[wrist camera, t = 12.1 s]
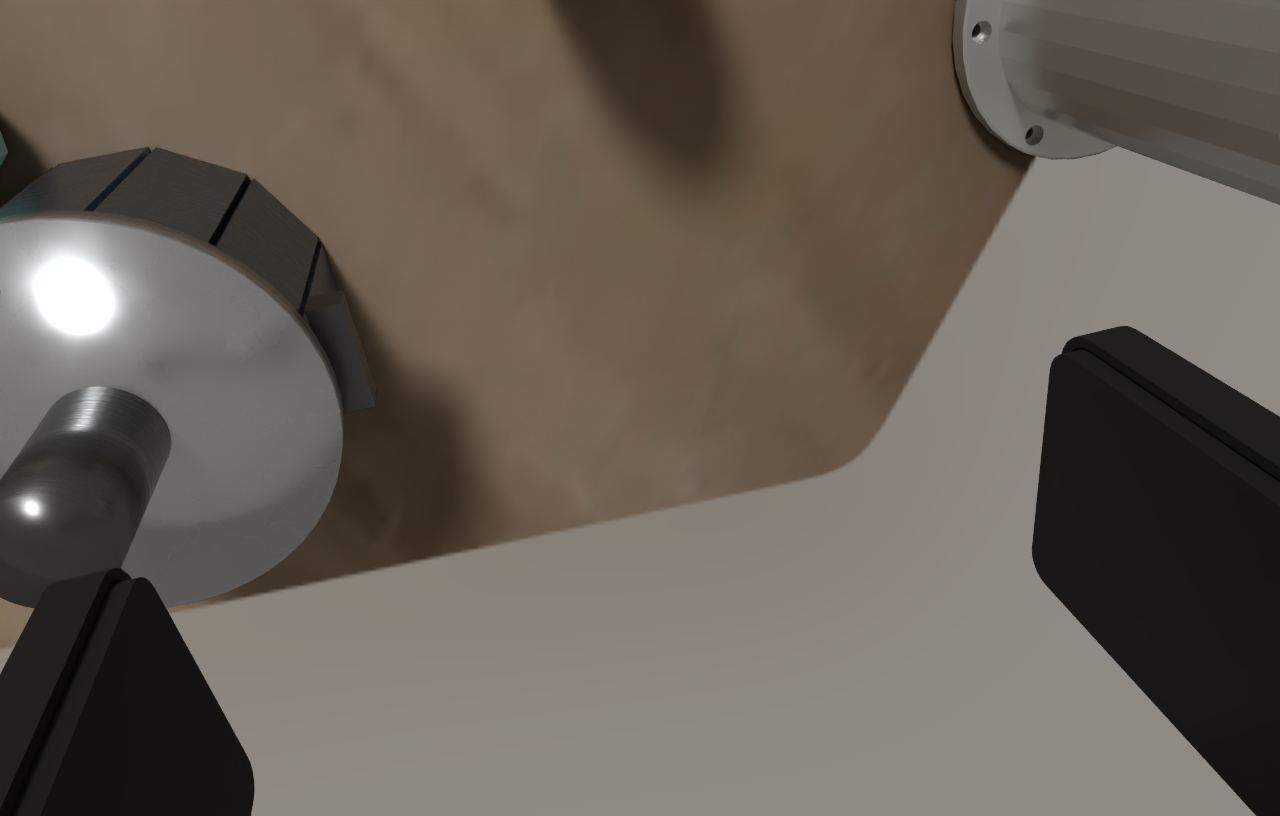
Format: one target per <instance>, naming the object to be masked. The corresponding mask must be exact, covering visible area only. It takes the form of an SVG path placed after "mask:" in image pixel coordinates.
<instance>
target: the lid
mask: <svg viewBox="0 0 1280 816" xmlns="http://www.w3.org/2000/svg"><path fill="white" fill-rule="evenodd" d="M343 438H344V416H343V407H342V399H341V394H340V391H339V387H338V384H337V380H336V376H335V373H334V371H333V368H332V366H331V364H330V362H329V359H328V357H327V355H326V353H325V350H324V349H323V347H322V345H321V344H320V342H319V340H318V339H317V337H316V336H315V334H314V332H313V331H312V329H311V328H310V326H309V325H308V323H307V322H306V321H305V320H304V319H303V317H302V316H301V315H300V314H299V312H298V311H297V310H296V309H295V308H294V306H293V305H292V304H291V303H290V302H289V301H288V300H287V299H286V298H285V297H284V296H283V295H282V294H281V293H280V292H279V291H278V290H277V289H276V288H274V287H273V286H272V285H271V284H270V283H269V282H268V281H267V280H265V279H264V278H263V277H261V276H260V275H259V274H257V273H256V272H255V271H253V270H252V269H251V268H249V267H248V266H247V265H245V264H244V263H242V262H241V261H239V260H237V259H236V258H234V257H232V256H231V255H229V254H227V253H226V252H224V251H222V250H221V249H219V248H217V247H216V246H213V245H211V244H209V243H207V242H205V241H202V240H200V239H198V238H196V237H194V236H191V235H189V234H187V233H185V232H182V231H179V230H176V229H173V228H170V227H167V226H164V225H161V224H158V223H155V222H152V221H147V220H143V219H138V218H133V217H129V216H124V215H119V214H113V213H103V212H93V211H83V210H59V211H39V212H31V213H24V214H16V215H10V216H6V217H2V218H0V598H2V599H5V600H7V601H9V602H12V603H15V604H18V605H22V606H25V607H31V608H35V607H36V605H37V603H38V601H39V599H40V597H41V595H42V593H43V592H44V591H45V589H46V588H47V587H48V585H50V584H52V583H54V582H57V581H61V580H65V579H69V578H73V577H77V576H82V575H86V574H90V573H94V572H98V571H102V570H107V569H111V568H120V569H123V570H124V571H125V572H126V573H128V574H129V575H130V577H131V578H132V579H134V578H138V577H144V578H146V579H148V580H149V581H150V582H151V583H152V585H153V586H154V588H155V589H156V591H157V593H158V595H159V596H160V598H161V600H162V602H163V604H164V606H165V607H166V608H169V607H174V606H179V605H184V604H189V603H194V602H198V601H201V600H205V599H208V598H211V597H215V596H218V595H221V594H223V593H226V592H228V591H231V590H233V589H235V588H238V587H240V586H242V585H245V584H247V583H248V582H250V581H252V580H254V579H255V578H257V577H259V576H261V575H262V574H264V573H266V572H268V571H269V570H270V569H272V568H273V567H274V566H276V565H277V564H278V563H280V562H281V561H282V560H284V559H285V558H286V557H287V556H289V555H290V554H291V553H292V552H293V551H294V550H295V549H296V548H297V547H298V546H299V545H300V544H301V543H302V542H303V541H304V540H305V538H306V537H307V536H308V535H309V533H310V532H311V531H312V529H313V528H314V527H315V526H316V524H317V523H318V521H319V520H320V518H321V516H322V514H323V513H324V511H325V509H326V507H327V505H328V504H329V501H330V499H331V496H332V493H333V491H334V488H335V485H336V483H337V479H338V474H339V469H340V464H341V458H342V450H343Z"/></svg>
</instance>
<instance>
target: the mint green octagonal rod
mask: <svg viewBox="0 0 1280 816" xmlns="http://www.w3.org/2000/svg"><path fill="white" fill-rule="evenodd" d="M7 154H8V150H7V147H6V145H5V142H4V139H3V137H2V134H1V131H0V166H1V164H2V162H3V161H4V159H5V157H6V155H7Z"/></svg>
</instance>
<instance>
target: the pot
mask: <svg viewBox="0 0 1280 816" xmlns="http://www.w3.org/2000/svg"><path fill="white" fill-rule="evenodd" d="M246 177H247V174H244V173H240V172H237V171H234V170H230V169H227V168H224V167H220V166H217V165H214V164H210V163H207V162H203V161H200V160H197V159H193V158H190V157H187V156H183V155H180V154H177V153H173V152H170V151H167V150H163V149H160V148H155V149H154V150H153V151H152V152H151V153H150V150H149V148H148V147H145V148H140V149H134V150H129V151H124V152H119V153H113V154H108V155H103V156H98V157H93V158H87V159H82V160H77V161H72V162H66V163H61V164H58V165H57V166H55V167H54V168H51V169H49V170H48V171H47V172H45V173H44V174H43V175H42V176H40V177H39V178H38V179H36V180H35V181H34V182H33V183H31V184H30V185H29V186H27V187H26V188H25V189H23V190H22V191H21V192H20V193H18V194H17V195H16V196H14V197H13V198H12V199H11V200H9V201H8V202H7V203H5V204H4V205H3V206H2V207H0V218H2V217H6V216H10V215H16V214H24V213H31V212H39V211H59V210H83V211H93V212H103V213H113V214H119V215H124V216H129V217H133V218H138V219H143V220H147V221H152V222H155V223H158V224H161V225H164V226H167V227H170V228H173V229H176V230H179V231H182V232H185V233H187V234H189V235H191V236H194V237H196V238H198V239H200V240H202V241H205V242H207V243H209V244H211V245H213V246H216V247H217V248H219V249H221V250H222V251H224V252H226V253H227V254H229V255H231V256H232V257H234V258H236V259H237V260H239V261H241V262H242V263H244V264H245V265H247V266H248V267H249V268H251V269H252V270H253V271H255V272H256V273H257V274H259V275H260V276H261V277H263V278H264V279H265V280H267V281H268V282H269V283H270V284H271V285H272V286H273V287H274V288H276V289H277V290H278V291H279V292H280V293H281V294H282V295H283V296H284V297H285V298H286V299H287V300H288V301H289V302H290V303H291V304H292V305H293V306H294V308H295V309H296V310H297V311H298V312H299V314H300V315H301V316H302V317H303V319H304V320H305V321H306V322H307V323H308V325H309V326H310V328H311V329H312V331H313V332H314V334H315V336H316V337H317V339H318V340H319V342H320V344H321V345H322V347H323V349H324V350H325V353H326V355H327V357H328V359H329V362H330V364H331V366H332V368H333V371H334V373H335V376H336V380H337V384H338V387H339V391H340V394H341V399H342V407H343V414H344V413H348V412H353V411H357V410H361V409H366V408H370V407H375V406H376V395H377V389H376V386H375V383H374V380H373V377H372V374H371V371H370V369H369V366H368V363H367V360H366V357H365V354H364V351H363V348H362V345H361V342H360V339H359V336H358V333H357V330H356V327H355V324H354V321H353V318H352V315H351V312H350V309H349V306H348V303H347V300H346V297H345V294H344V291H343V290H340V291H338V288H337V285H336V282H335V279H334V276H333V273H332V270H331V268H330V265H329V262H328V259H327V256H326V253H325V250H324V247H323V244H322V243H321V244H317V241H318V237H317V236H316V235H315V234H314V233H313V232H312V231H311V230H310V229H309V228H308V227H307V226H305V225H304V224H303V223H302V222H301V221H300V220H299V219H298V218H297V217H296V216H294V215H293V214H292V213H291V212H290V211H289V210H288V209H287V208H286V207H285V206H284V205H282V204H281V203H280V202H279V201H278V200H277V199H276V198H275V197H274V196H273V195H272V194H270V193H269V192H268V191H267V190H266V189H265V188H264V187H263V186H262V185H261V184H259V183H258V182H257V181H256V180H255V179H253V180H252V181H251V182H249V183H248V184H247V185H246V186H245V181H246ZM244 186H245V187H244Z"/></svg>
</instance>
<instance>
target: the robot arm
mask: <svg viewBox="0 0 1280 816" xmlns="http://www.w3.org/2000/svg"><path fill="white" fill-rule="evenodd" d="M974 27H975V31H974V33H973V34H972V31H973V28H974ZM953 50H954V60H955V69H956V73H957V76H958V80H959V83H960V86H961V90H962V93H963V96H964V97H965V99H966V101H967V103H968V105H969V107H970V108H971V110H972V112H973V114H974V116H975V117H976V118H977V119H978V120H979V121H980V123H981V124H982V125H983V126H984V127H985V128H986V129H987V130H988V131H989V133H990V134H992V135H993V136H995V137H996V138H998V139H999V140H1001V141H1002V142H1004V143H1005V144H1007V145H1008V146H1010V147H1013V148H1015V149H1017V150H1020V151H1022V152H1024V153H1027V154H1030V155H1034V156H1039V157H1043V158H1048V159H1077V158H1082V157H1086V156H1091V155H1096V154H1099V153H1102V152H1104V151H1107V150H1109V149H1111V148H1114V147H1116V146H1119V147H1122V148H1125V149H1127V150H1130V151H1133V152H1136V153H1139V154H1141V155H1144V156H1147V157H1149V158H1152V159H1155V160H1158V161H1161V162H1163V163H1166V164H1169V165H1171V166H1174V167H1177V168H1180V169H1182V170H1185V171H1188V172H1190V173H1193V174H1196V175H1199V176H1201V177H1204V178H1207V179H1210V180H1212V181H1216V182H1218V183H1221V184H1224V185H1226V186H1229V187H1232V188H1235V189H1238V190H1240V191H1243V192H1245V193H1248V194H1251V195H1254V196H1257V197H1259V198H1262V199H1265V200H1267V201H1270V202H1273V203H1276V204H1279V205H1280V0H957V2H956V7H955V14H954V28H953ZM1032 557H1033V561H1034V565H1035V568H1036V570H1037V572H1038V574H1039V576H1040V578H1041V579H1042V581H1043V582H1044V583H1045V584H1046V586H1047V587H1048V588H1049V589H1050V590H1051V591H1052V592H1053V593H1054V594H1055V596H1056V597H1058V599H1059V600H1060V601H1061V602H1062V603H1063V604H1064V605H1065V606H1066V608H1068V610H1069V611H1070V612H1071V613H1072V614H1073V615H1074V616H1075V617H1076V619H1077V620H1079V622H1080V623H1081V624H1082V625H1083V626H1084V627H1085V628H1086V630H1088V632H1089V633H1090V634H1091V635H1092V636H1093V637H1094V638H1095V639H1096V640H1097V642H1098V643H1099V644H1100V645H1101V646H1102V647H1103V648H1104V649H1105V650H1106V651H1107V652H1108V654H1109V655H1110V656H1111V657H1112V658H1113V659H1114V660H1115V661H1116V662H1117V664H1119V666H1120V667H1121V668H1122V669H1123V670H1124V671H1125V672H1126V673H1127V675H1129V677H1130V678H1131V679H1132V680H1133V681H1134V682H1135V683H1136V684H1137V685H1138V687H1140V689H1141V690H1142V691H1143V692H1144V693H1145V694H1146V695H1147V696H1148V698H1149V699H1151V701H1152V702H1153V703H1154V704H1155V705H1156V706H1157V707H1158V708H1159V710H1160V711H1161V712H1162V713H1163V714H1164V715H1165V716H1166V717H1167V718H1168V719H1169V720H1170V722H1171V723H1172V724H1173V725H1174V726H1175V727H1176V728H1177V729H1178V730H1179V731H1180V733H1181V734H1182V735H1183V736H1184V737H1185V738H1186V739H1187V740H1188V741H1189V743H1190V744H1191V745H1192V746H1193V747H1194V748H1195V749H1196V750H1197V751H1198V752H1199V753H1200V755H1202V757H1203V758H1204V759H1205V760H1206V761H1207V762H1208V763H1209V764H1210V766H1211V767H1212V768H1213V769H1214V770H1215V771H1216V772H1217V773H1218V774H1219V775H1220V776H1221V778H1222V779H1223V780H1224V781H1225V782H1226V783H1227V784H1228V785H1229V786H1230V787H1231V789H1233V791H1234V792H1235V793H1236V794H1237V795H1238V796H1239V797H1240V798H1241V800H1242V801H1243V802H1244V803H1245V804H1246V805H1247V806H1248V807H1249V808H1250V809H1251V811H1253V813H1254V814H1255V815H1256V816H1280V417H1279V416H1278V415H1276V414H1274V413H1273V412H1271V411H1269V410H1268V409H1266V408H1264V407H1263V406H1261V405H1259V404H1258V403H1256V402H1255V401H1253V400H1251V399H1250V398H1248V397H1246V396H1245V395H1243V394H1241V393H1240V392H1238V391H1237V390H1235V389H1233V388H1232V387H1230V386H1228V385H1227V384H1225V383H1223V382H1222V381H1220V380H1218V379H1217V378H1215V377H1213V376H1212V375H1210V374H1208V373H1207V372H1205V371H1204V370H1202V369H1200V368H1198V367H1197V366H1195V365H1194V364H1192V363H1190V362H1189V361H1187V360H1186V359H1184V358H1182V357H1181V356H1179V355H1177V354H1176V353H1174V352H1172V351H1171V350H1169V349H1167V348H1166V347H1164V346H1162V345H1161V344H1159V343H1158V342H1156V341H1154V340H1153V339H1151V338H1149V337H1148V336H1146V335H1144V334H1143V333H1141V332H1139V331H1138V330H1136V329H1133V328H1131V327H1129V326H1120V327H1116V328H1111V329H1107V330H1103V331H1099V332H1095V333H1090V334H1086V335H1082V336H1078V337H1074V338H1072V339H1071V340H1069V341H1068V342H1067V343H1066V345H1065V346H1064V348H1063V351H1062V354H1061V355H1058V356H1057V357H1055V358H1054V360H1053V362H1052V363H1051V368H1050V374H1049V384H1048V394H1047V404H1046V414H1045V424H1044V434H1043V444H1042V454H1041V464H1040V474H1039V484H1038V493H1037V503H1036V514H1035V523H1034V534H1033V543H1032ZM253 800H254V778H253V771H252V767H251V764H250V761H249V759H248V757H247V755H246V753H245V751H244V749H243V747H242V746H241V744H240V742H239V740H238V739H237V737H236V735H235V733H234V732H233V730H232V727H231V726H230V724H229V722H228V720H227V719H226V717H225V715H224V713H223V711H222V709H221V707H220V706H219V704H218V702H217V700H216V698H215V697H214V695H213V693H212V691H211V689H210V688H209V686H208V684H207V682H206V680H205V678H204V676H203V675H202V673H201V671H200V669H199V667H198V666H197V664H196V662H195V660H194V658H193V656H192V655H191V653H190V651H189V649H188V647H187V646H186V644H185V642H184V641H183V638H182V636H181V635H180V633H179V631H178V629H177V628H176V626H175V624H174V622H173V620H172V618H171V616H170V615H169V613H168V611H167V609H166V607H165V606H164V604H163V602H162V600H161V598H160V596H159V595H158V593H157V591H156V589H155V588H154V586H153V585H152V583H151V582H150V581H149V580H148V579H146V578H144V577H138V578H134V579H132V578H131V577H130V575H129V574H128V573H126V572H125V571H124V570H123V569H120V568H111V569H107V570H102V571H98V572H94V573H90V574H86V575H82V576H77V577H73V578H69V579H65V580H61V581H57V582H54V583H52V584H50V585H48V587H47V588H46V589H45V591H44V592H43V593H42V595H41V597H40V599H39V601H38V603H37V605H36V607H35V609H34V611H33V613H32V614H31V616H30V618H29V620H28V622H27V624H26V626H25V628H24V630H23V632H22V634H21V635H20V637H19V639H18V641H17V643H16V645H15V647H14V649H13V651H12V653H11V655H10V657H9V659H8V661H7V662H6V664H5V666H4V668H3V670H2V672H1V674H0V816H251V811H252V805H253Z"/></svg>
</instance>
